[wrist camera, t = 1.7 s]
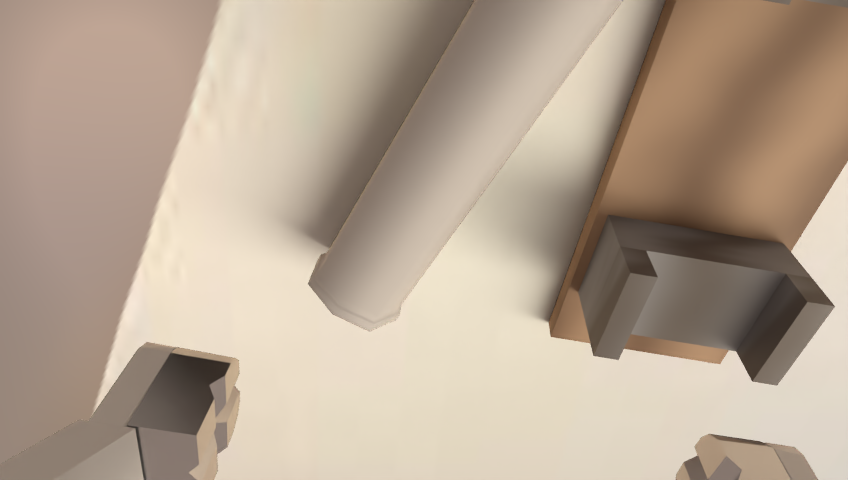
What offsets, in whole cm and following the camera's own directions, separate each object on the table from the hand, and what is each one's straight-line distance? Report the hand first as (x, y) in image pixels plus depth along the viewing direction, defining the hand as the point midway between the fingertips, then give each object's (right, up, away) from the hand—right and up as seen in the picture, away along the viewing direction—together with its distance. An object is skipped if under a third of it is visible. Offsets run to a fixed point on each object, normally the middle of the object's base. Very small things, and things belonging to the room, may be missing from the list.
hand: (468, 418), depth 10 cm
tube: (+2, +11, +16) cm, 20 cm away
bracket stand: (+14, +9, +16) cm, 23 cm away
